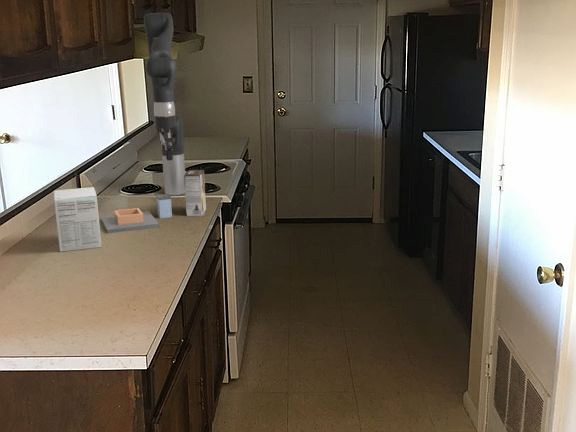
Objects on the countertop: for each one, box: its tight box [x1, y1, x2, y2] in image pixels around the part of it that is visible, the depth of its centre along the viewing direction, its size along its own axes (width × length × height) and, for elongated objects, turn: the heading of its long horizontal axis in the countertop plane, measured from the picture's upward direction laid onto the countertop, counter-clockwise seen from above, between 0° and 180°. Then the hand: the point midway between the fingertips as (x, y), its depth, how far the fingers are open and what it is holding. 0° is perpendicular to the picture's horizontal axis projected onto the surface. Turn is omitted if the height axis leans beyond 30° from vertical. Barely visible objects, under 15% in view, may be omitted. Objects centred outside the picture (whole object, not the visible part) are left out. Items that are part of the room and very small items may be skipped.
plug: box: [156, 193, 173, 219], centre depth 245 cm, size 4×4×8 cm
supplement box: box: [53, 186, 102, 253], centre depth 213 cm, size 13×13×18 cm
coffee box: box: [184, 169, 207, 217], centre depth 247 cm, size 9×6×16 cm
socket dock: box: [100, 207, 160, 234], centre depth 237 cm, size 18×18×4 cm
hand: (167, 157), depth 239 cm, fingers open, 8 cm apart
